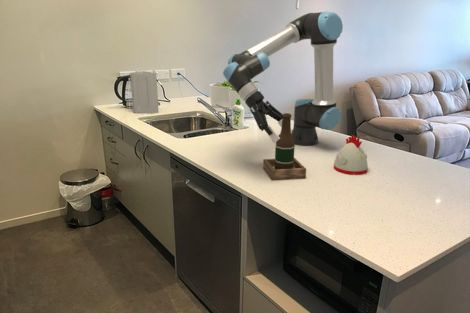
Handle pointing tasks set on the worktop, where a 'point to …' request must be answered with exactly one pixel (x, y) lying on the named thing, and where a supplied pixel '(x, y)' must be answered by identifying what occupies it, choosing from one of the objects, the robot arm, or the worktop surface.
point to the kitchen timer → (351, 158)
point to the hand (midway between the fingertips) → (284, 136)
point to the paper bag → (144, 92)
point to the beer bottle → (285, 145)
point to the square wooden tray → (284, 170)
